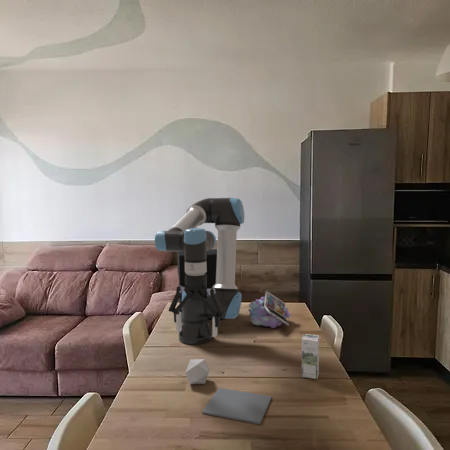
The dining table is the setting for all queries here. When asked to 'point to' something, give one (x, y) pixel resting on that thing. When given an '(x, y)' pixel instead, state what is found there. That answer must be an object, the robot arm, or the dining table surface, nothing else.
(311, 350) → the syrup box
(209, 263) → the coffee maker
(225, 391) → the mat
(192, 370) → the die
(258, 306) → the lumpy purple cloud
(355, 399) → the dining table surface
